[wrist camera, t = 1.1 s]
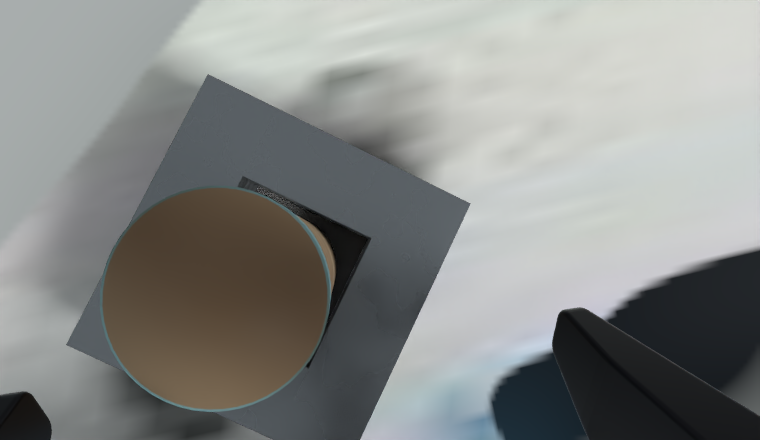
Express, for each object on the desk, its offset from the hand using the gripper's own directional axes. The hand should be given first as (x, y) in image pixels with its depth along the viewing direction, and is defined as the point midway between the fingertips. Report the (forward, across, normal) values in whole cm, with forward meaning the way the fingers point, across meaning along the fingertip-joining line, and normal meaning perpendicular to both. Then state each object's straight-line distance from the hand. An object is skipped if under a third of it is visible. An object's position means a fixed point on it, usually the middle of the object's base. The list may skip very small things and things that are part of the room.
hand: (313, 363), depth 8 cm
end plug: (+13, +2, +8) cm, 15 cm away
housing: (+13, +2, +8) cm, 15 cm away
